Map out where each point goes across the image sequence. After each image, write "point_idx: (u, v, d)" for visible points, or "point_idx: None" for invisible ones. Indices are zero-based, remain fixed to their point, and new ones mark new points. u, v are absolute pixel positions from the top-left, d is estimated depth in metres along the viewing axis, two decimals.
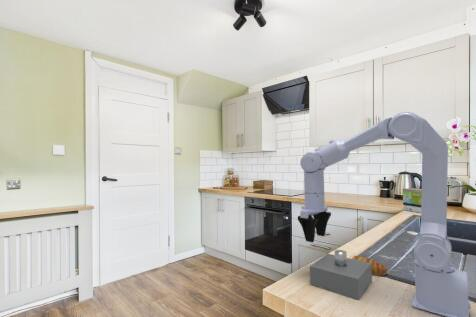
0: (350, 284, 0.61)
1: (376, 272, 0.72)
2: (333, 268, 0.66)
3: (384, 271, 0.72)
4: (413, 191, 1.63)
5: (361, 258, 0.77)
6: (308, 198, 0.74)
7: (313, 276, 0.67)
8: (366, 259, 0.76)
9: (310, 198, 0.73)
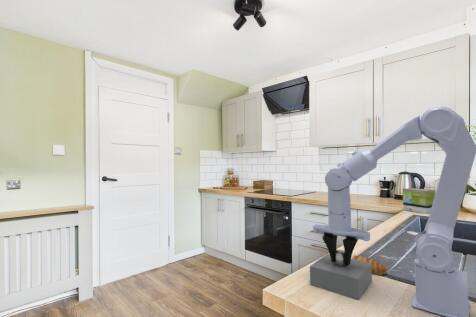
0: (350, 284, 0.61)
1: (376, 271, 0.72)
2: (333, 268, 0.66)
3: (384, 270, 0.72)
4: (413, 191, 1.63)
5: (361, 257, 0.77)
6: None
7: (313, 276, 0.67)
8: (366, 258, 0.76)
9: None
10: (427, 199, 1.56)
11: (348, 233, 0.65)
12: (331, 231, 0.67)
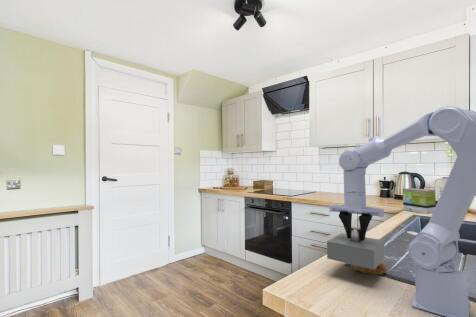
0: (366, 255, 0.65)
1: (376, 271, 0.73)
2: (349, 243, 0.71)
3: (384, 270, 0.73)
4: (413, 191, 1.63)
5: None
6: None
7: (330, 250, 0.72)
8: None
9: None
10: (427, 199, 1.56)
11: (364, 210, 0.70)
12: (347, 209, 0.72)
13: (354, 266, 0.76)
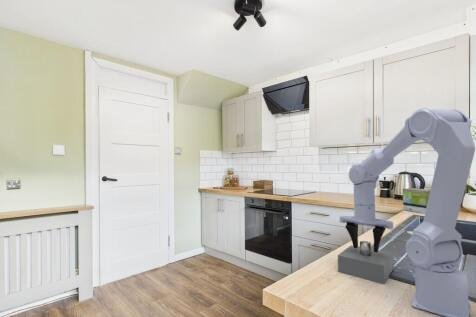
0: (376, 270, 0.68)
1: None
2: (359, 257, 0.73)
3: None
4: (413, 191, 1.63)
5: None
6: None
7: (341, 264, 0.75)
8: None
9: None
10: (427, 199, 1.56)
11: (373, 222, 0.73)
12: (357, 221, 0.75)
13: None
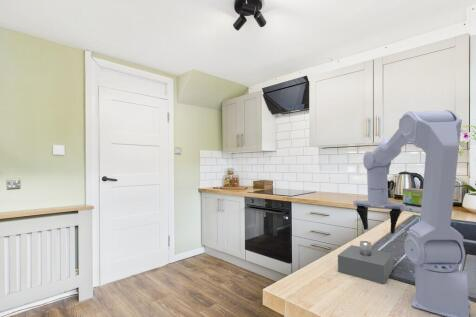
0: (376, 270, 0.68)
1: None
2: (359, 257, 0.73)
3: None
4: (413, 191, 1.63)
5: None
6: None
7: (341, 264, 0.75)
8: None
9: None
10: None
11: (387, 205, 0.78)
12: (371, 204, 0.80)
13: None
